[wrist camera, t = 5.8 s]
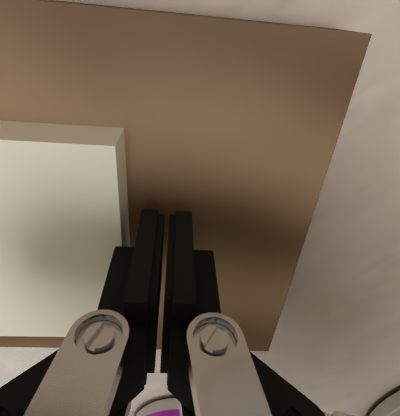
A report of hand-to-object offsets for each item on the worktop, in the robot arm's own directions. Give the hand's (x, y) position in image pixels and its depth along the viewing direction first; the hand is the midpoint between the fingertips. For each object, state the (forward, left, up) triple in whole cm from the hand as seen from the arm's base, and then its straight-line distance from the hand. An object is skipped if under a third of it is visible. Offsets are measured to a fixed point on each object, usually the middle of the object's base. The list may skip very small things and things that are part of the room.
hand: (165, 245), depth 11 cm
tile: (0, +5, -1) cm, 5 cm away
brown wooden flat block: (0, +3, -3) cm, 4 cm away
